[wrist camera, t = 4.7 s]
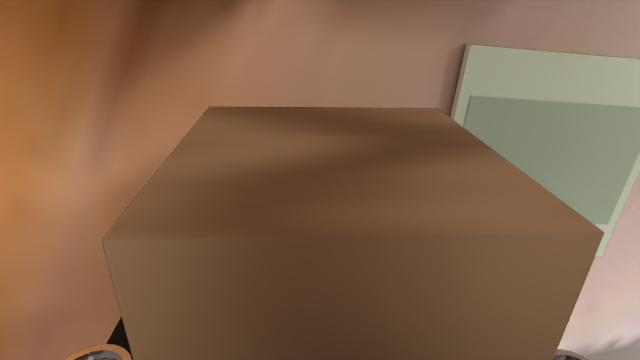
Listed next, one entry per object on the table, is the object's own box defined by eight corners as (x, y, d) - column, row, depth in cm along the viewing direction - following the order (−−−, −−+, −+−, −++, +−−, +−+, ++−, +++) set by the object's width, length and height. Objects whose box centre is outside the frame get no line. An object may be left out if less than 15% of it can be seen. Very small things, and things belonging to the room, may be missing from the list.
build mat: (679, 62, 17) (688, 63, 16) (595, 252, 21) (602, 257, 20) (466, 43, 15) (471, 44, 15) (420, 249, 19) (423, 254, 19)
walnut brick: (437, 108, 10) (604, 232, 5) (399, 349, 14) (466, 570, 8) (208, 106, 10) (101, 240, 4) (234, 354, 14) (195, 591, 8)
